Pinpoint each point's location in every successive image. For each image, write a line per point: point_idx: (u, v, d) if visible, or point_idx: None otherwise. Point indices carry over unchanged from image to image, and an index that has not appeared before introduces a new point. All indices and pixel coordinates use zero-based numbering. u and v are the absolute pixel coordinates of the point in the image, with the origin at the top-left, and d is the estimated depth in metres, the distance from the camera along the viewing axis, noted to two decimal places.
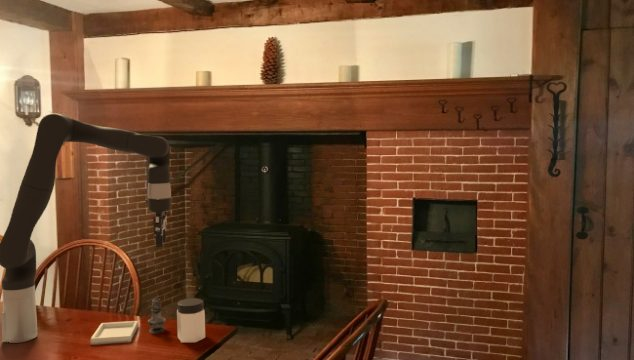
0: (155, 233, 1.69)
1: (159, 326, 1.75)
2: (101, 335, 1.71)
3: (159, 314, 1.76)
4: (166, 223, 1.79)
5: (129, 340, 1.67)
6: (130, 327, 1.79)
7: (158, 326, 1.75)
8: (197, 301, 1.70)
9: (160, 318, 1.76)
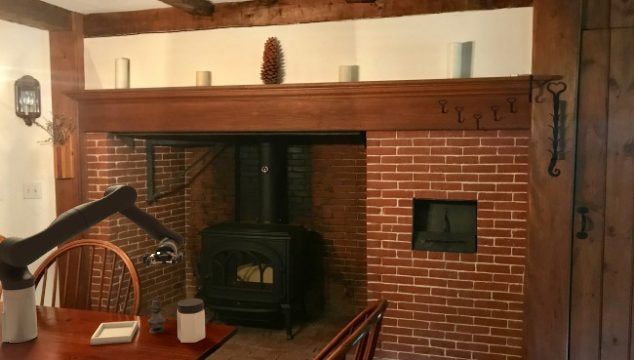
0: (181, 256, 1.94)
1: (159, 326, 1.75)
2: (101, 335, 1.71)
3: (159, 314, 1.76)
4: (155, 263, 1.94)
5: (129, 340, 1.67)
6: (130, 327, 1.79)
7: (158, 326, 1.75)
8: (197, 301, 1.70)
9: (160, 318, 1.76)
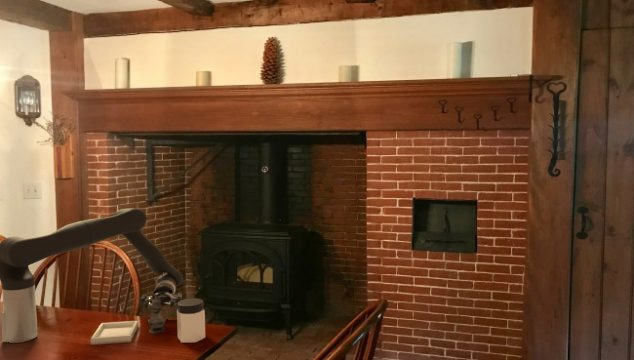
0: (180, 298, 1.90)
1: (159, 326, 1.75)
2: (101, 335, 1.71)
3: (159, 314, 1.76)
4: None
5: (129, 340, 1.67)
6: (130, 327, 1.79)
7: (158, 326, 1.75)
8: (197, 301, 1.70)
9: (160, 318, 1.76)
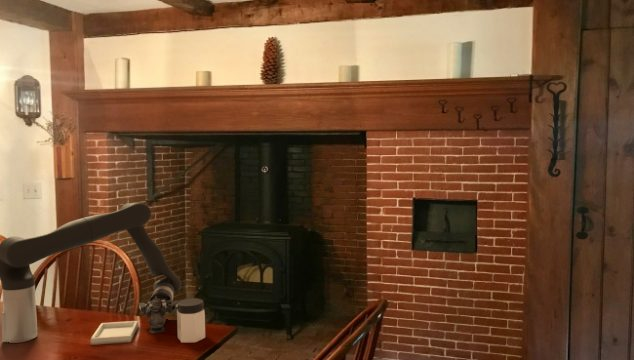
0: (171, 307, 1.79)
1: (159, 326, 1.75)
2: (101, 335, 1.71)
3: (159, 314, 1.76)
4: None
5: (129, 340, 1.67)
6: (130, 327, 1.79)
7: (158, 326, 1.75)
8: (197, 301, 1.70)
9: (160, 318, 1.76)
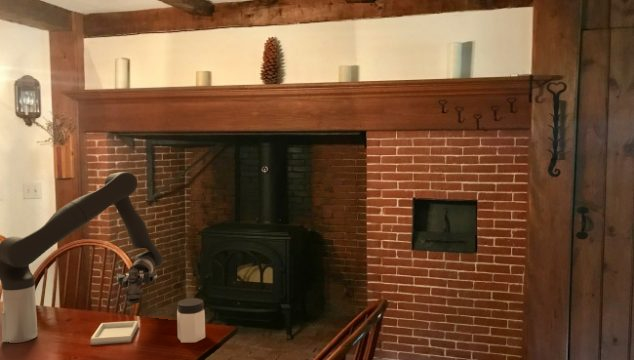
0: (149, 277, 1.76)
1: (136, 296, 1.72)
2: (101, 335, 1.71)
3: (136, 285, 1.73)
4: None
5: (129, 340, 1.67)
6: (130, 327, 1.79)
7: (135, 296, 1.72)
8: (197, 301, 1.70)
9: (137, 288, 1.73)
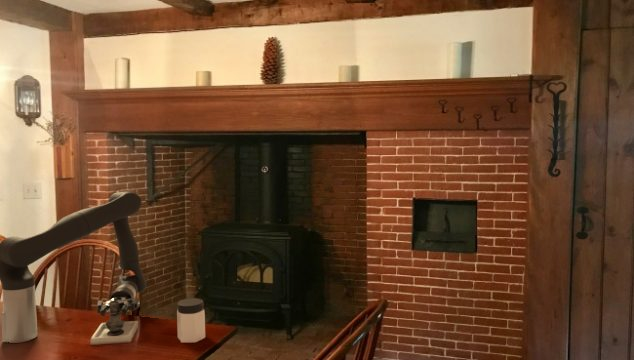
0: (134, 305, 1.76)
1: (117, 329, 1.71)
2: (101, 335, 1.71)
3: (118, 317, 1.72)
4: None
5: (129, 340, 1.67)
6: (130, 327, 1.79)
7: (116, 329, 1.71)
8: (197, 301, 1.70)
9: (118, 321, 1.72)
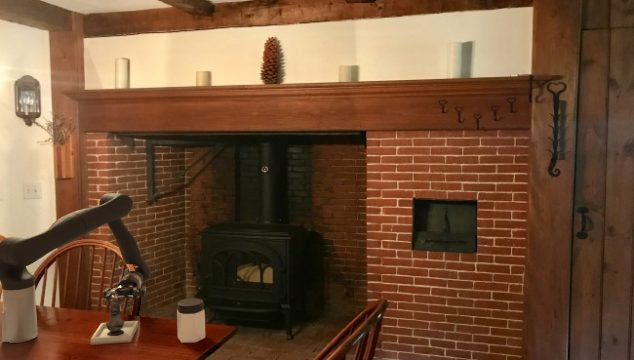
0: (144, 291, 1.89)
1: (117, 329, 1.71)
2: (101, 335, 1.71)
3: (118, 317, 1.72)
4: (117, 297, 1.89)
5: (129, 340, 1.67)
6: (130, 327, 1.79)
7: (116, 329, 1.71)
8: (197, 301, 1.70)
9: (118, 321, 1.72)
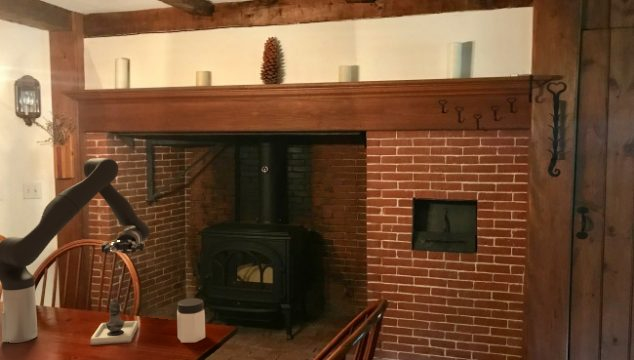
0: (142, 245, 1.88)
1: (117, 329, 1.71)
2: (101, 335, 1.71)
3: (118, 317, 1.72)
4: (116, 251, 1.88)
5: (129, 340, 1.67)
6: (130, 327, 1.79)
7: (116, 329, 1.71)
8: (197, 301, 1.70)
9: (118, 321, 1.72)
